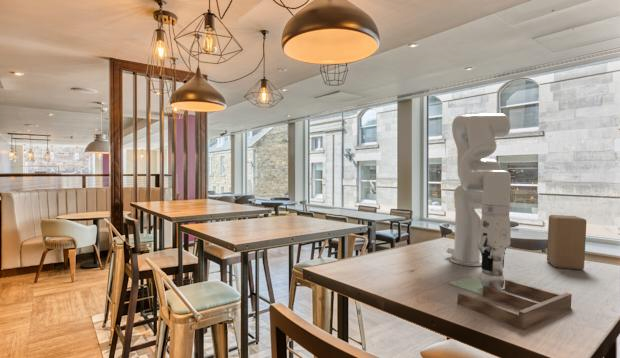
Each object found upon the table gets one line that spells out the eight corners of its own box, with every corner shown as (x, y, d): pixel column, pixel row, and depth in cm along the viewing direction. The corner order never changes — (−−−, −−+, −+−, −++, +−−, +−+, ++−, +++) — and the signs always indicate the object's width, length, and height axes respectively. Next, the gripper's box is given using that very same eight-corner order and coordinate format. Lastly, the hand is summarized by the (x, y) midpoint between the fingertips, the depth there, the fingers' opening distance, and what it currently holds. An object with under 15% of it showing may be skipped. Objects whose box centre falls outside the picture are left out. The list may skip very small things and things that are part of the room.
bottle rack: (457, 303, 94) (457, 289, 93) (506, 288, 107) (507, 276, 107) (523, 329, 79) (524, 312, 79) (570, 308, 93) (571, 293, 92)
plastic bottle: (475, 285, 108) (477, 222, 107) (495, 284, 108) (497, 223, 107) (487, 292, 101) (490, 226, 100) (508, 292, 102) (511, 226, 101)
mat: (448, 283, 110) (448, 282, 110) (470, 278, 117) (470, 277, 117) (483, 295, 100) (483, 294, 100) (505, 289, 107) (505, 288, 107)
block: (574, 264, 139) (576, 215, 138) (585, 271, 130) (587, 219, 129) (545, 261, 142) (548, 214, 142) (554, 267, 133) (556, 217, 132)
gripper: (491, 213, 96) (489, 276, 97) (522, 210, 105) (519, 268, 106) (467, 210, 102) (464, 269, 103) (498, 207, 111) (495, 261, 112)
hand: (492, 268), depth 104 cm, fingers closed on plastic bottle, 5 cm apart
